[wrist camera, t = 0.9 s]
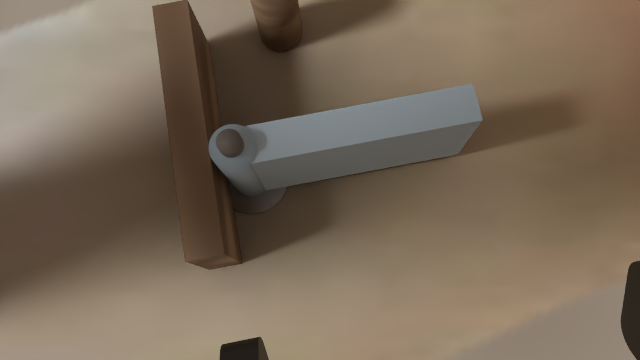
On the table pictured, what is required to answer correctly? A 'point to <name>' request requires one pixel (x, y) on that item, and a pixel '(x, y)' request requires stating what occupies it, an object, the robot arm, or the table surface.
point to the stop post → (278, 23)
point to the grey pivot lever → (350, 140)
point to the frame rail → (200, 142)
